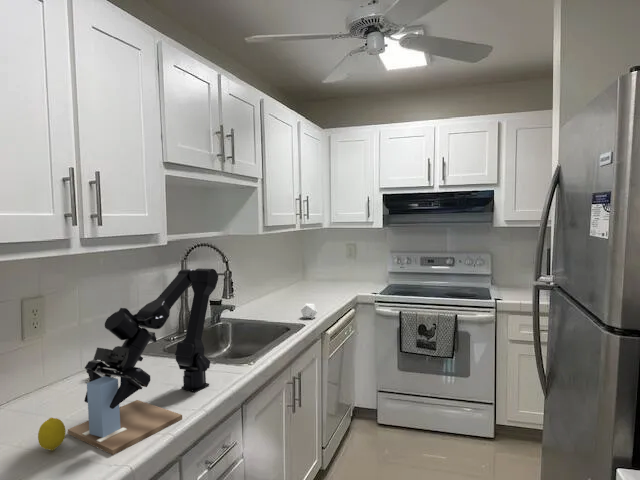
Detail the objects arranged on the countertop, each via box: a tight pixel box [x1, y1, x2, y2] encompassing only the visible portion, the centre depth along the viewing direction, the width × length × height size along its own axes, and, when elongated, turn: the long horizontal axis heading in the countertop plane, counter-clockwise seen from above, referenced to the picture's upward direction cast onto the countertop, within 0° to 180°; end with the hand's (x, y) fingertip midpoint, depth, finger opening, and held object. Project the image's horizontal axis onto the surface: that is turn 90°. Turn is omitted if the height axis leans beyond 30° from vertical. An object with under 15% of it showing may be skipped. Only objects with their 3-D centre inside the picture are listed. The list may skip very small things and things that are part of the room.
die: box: [300, 303, 318, 320], centre depth 228 cm, size 8×9×10 cm
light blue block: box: [86, 376, 120, 438], centre depth 105 cm, size 5×5×13 cm
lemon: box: [37, 417, 66, 452], centre depth 99 cm, size 6×6×8 cm
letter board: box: [67, 399, 183, 456], centre depth 110 cm, size 20×20×1 cm
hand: (98, 405), depth 104 cm, fingers open, 9 cm apart
